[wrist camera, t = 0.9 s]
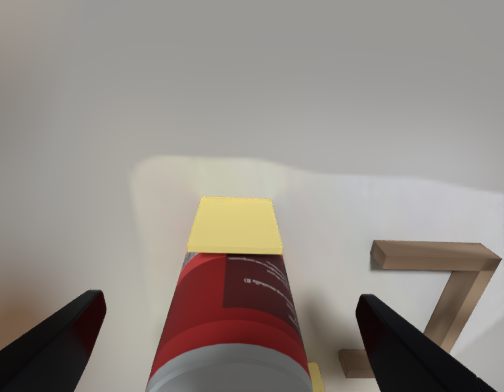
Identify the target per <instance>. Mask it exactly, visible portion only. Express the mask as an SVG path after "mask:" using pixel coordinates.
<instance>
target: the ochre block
mask: <svg viewBox="0 0 504 392" xmlns="http://www.w3.org/2000/svg"><path fill="white" fill-rule="evenodd" d="M307 363H308V368H309V372H310V377H311V381H312V387H313V392H325V389H324V386H323V382H322V378H321V374H320V371H319V367H318V363H317V362H307Z"/></svg>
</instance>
